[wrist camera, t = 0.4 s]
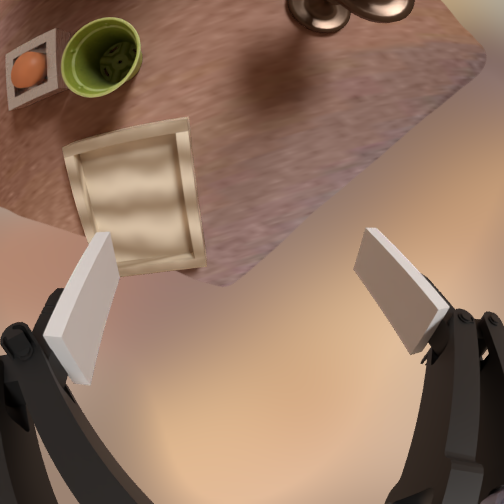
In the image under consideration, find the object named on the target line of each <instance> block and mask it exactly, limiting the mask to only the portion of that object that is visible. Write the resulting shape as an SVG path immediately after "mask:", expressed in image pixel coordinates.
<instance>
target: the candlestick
mask: <svg viewBox="0 0 504 504" xmlns="http://www.w3.org/2000/svg"><path fill="white" fill-rule="evenodd" d="M414 2H415V0H288V7H289V10H290V12H291V14H292V16H293V17H294V18H295V19H296V20H297V22H299V23H300V24H301V25H302V26H304V27H306V28H307V29H310V30H312V31H315V32H319V33H331V32H334V31H337V30H340V29H341V28H343V27H344V26H345V25H346V24H347V23H348V21H349V19H350V14H351V13H353V14H355V15H357V16H359V17H360V18H363V19H366V20H368V21H372V22H377V23H390V22H395V21H400V20H402V19H404V18H406V17H407V16H408V15H409V14H410V13H411V11H412V9H413V6H414Z"/></svg>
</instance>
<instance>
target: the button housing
mask: <svg viewBox="0 0 504 504" xmlns="http://www.w3.org/2000/svg"><path fill="white" fill-rule="evenodd" d="M69 41H70V32H67V31H64V30H61V29H58V28H54V29H52V30H50V31H48V32H46V33H44V34H42V35H40V36H38V37H36V38H34V39H32V40H30V41H28V42H26V43H25V44H23V45H21V46H19V47H18V48H16V49H14V50H12V51H11V52H9V53H8V54H6V85H7V98H8V108H9V111H11V110H16V109H20V108H24V107H27V106H29V105H31V104H33V103H36V102H38V101H40V100H42V99H45V98H47V97H50V96H52V95H54V94H57V93H59V92H62V91H65V90H67V89H69V88H68V87H67V85H66V84H65V82H64V80H63V77H62V73H61V60H62V56H63V53H64V50H65V48H66V46H67V44H68V42H69ZM25 52H39V53H44V54H46V56H47V76H46V77H45V79H44V80H43V81H42V82H41V83H40V84H39V85H37V86H34V87H26V88H17V87H15V86H14V85H13V83H12V81H11V71H12V67H13V65H14V63H15V61H16V60H17V59H18V57H19V56H21V55H22V54H23V53H25Z"/></svg>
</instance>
